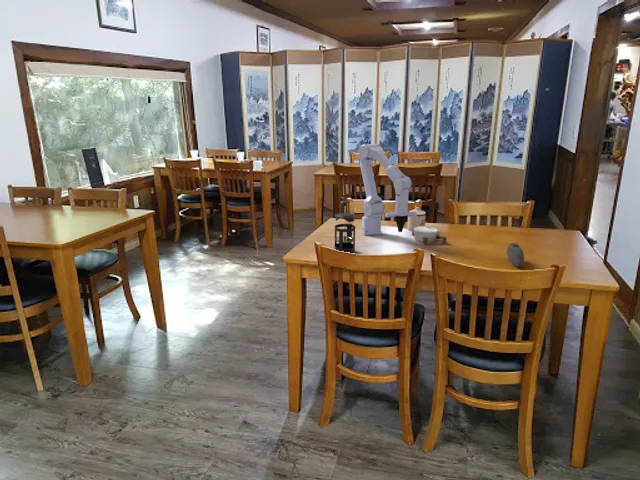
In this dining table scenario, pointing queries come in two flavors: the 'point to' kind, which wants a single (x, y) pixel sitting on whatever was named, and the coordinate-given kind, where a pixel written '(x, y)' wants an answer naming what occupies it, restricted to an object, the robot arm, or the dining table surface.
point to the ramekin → (425, 233)
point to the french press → (345, 241)
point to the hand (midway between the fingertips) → (400, 231)
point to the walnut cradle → (433, 240)
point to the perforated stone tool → (515, 254)
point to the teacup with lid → (416, 219)
